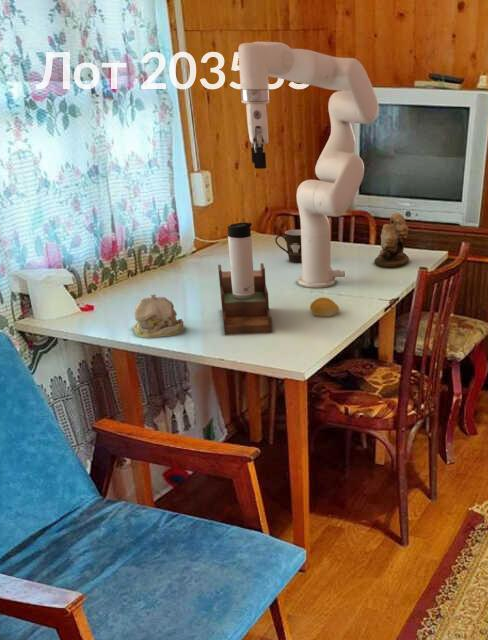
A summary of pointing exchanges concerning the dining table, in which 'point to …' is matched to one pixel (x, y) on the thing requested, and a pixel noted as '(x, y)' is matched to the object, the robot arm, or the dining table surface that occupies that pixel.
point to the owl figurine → (393, 243)
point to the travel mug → (241, 260)
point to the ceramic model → (156, 318)
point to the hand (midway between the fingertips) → (259, 165)
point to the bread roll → (324, 307)
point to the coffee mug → (292, 245)
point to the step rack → (245, 306)
